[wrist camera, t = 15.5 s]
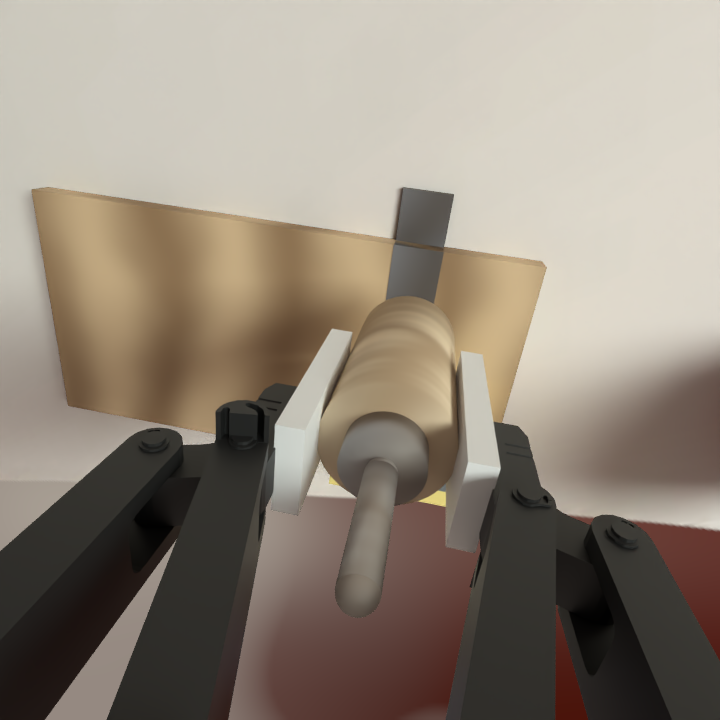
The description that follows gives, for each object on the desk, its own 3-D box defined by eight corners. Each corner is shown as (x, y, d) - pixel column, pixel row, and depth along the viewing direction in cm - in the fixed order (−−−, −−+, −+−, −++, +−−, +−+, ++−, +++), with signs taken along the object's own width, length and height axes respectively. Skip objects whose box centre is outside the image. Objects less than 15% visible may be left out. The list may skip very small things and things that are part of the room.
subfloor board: (85, 428, 33) (73, 438, 32) (40, 136, 25) (21, 136, 24) (472, 504, 31) (474, 518, 29) (556, 208, 23) (562, 212, 22)
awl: (356, 374, 22) (249, 656, 10) (366, 289, 20) (251, 507, 8) (444, 389, 22) (442, 701, 10) (463, 304, 20) (487, 555, 8)
